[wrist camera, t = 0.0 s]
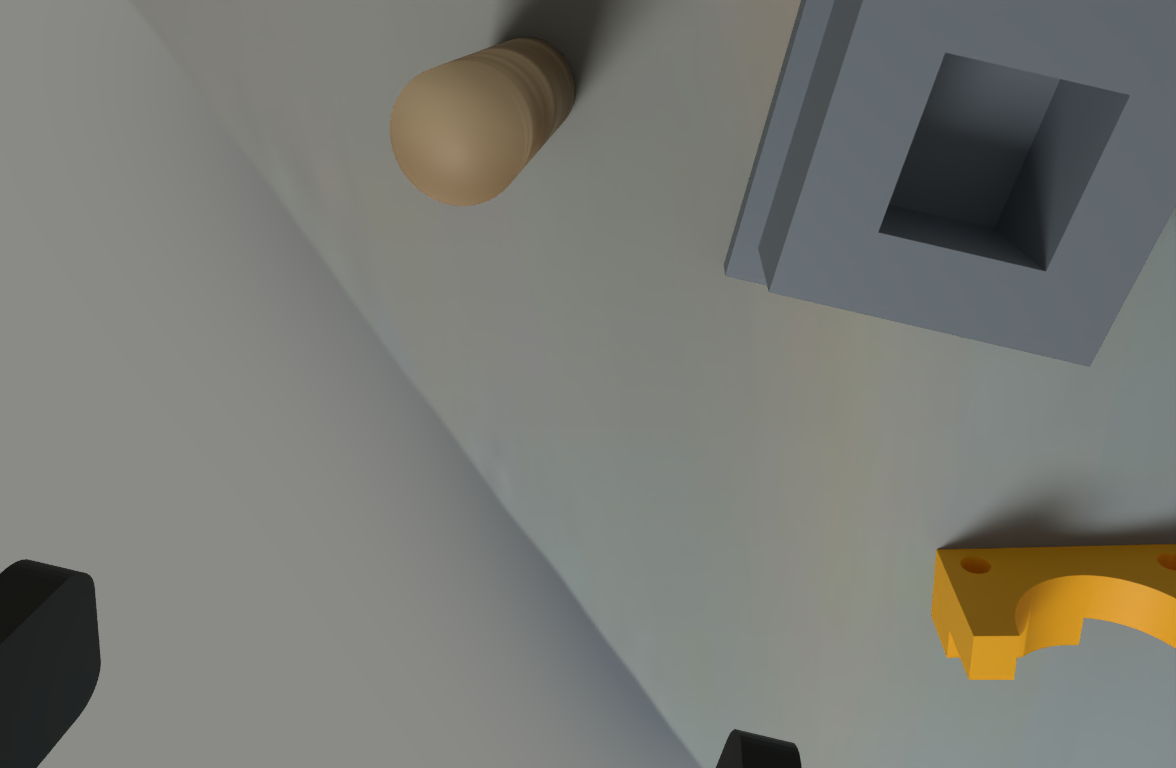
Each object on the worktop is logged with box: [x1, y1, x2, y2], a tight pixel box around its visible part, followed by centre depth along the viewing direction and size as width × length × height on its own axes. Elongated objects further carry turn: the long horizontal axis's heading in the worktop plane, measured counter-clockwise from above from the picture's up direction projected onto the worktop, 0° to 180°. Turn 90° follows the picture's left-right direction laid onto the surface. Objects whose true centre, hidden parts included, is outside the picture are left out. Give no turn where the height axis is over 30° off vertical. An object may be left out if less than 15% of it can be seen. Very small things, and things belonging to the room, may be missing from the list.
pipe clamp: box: [931, 544, 1176, 680], centre depth 40 cm, size 12×4×6 cm, turn 96°
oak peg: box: [390, 37, 575, 206], centre depth 30 cm, size 4×4×12 cm
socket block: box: [724, 0, 1176, 367], centre depth 31 cm, size 15×14×7 cm
